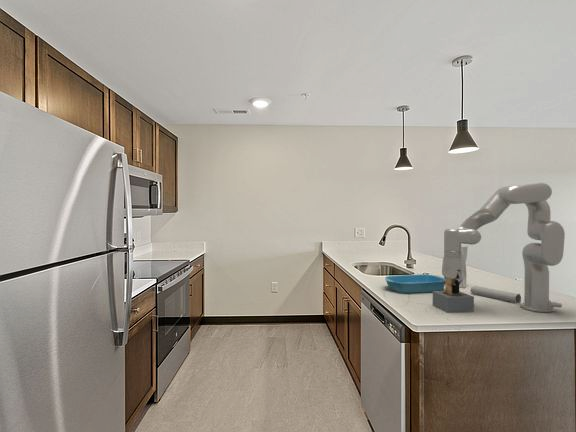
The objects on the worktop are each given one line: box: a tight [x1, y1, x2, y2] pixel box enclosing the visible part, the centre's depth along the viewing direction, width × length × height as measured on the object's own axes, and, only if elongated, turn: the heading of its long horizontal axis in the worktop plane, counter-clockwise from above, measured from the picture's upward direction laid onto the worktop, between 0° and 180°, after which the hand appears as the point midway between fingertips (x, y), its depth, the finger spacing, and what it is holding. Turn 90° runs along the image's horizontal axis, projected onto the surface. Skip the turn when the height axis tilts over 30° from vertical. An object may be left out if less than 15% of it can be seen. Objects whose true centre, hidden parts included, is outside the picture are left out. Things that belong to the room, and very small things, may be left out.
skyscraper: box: [459, 244, 468, 289], centre depth 210 cm, size 8×8×28 cm
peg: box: [444, 277, 459, 296], centre depth 163 cm, size 4×4×10 cm
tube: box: [470, 285, 522, 305], centre depth 182 cm, size 5×5×25 cm
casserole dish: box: [384, 273, 445, 294], centre depth 203 cm, size 37×22×7 cm, turn 101°
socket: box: [432, 290, 475, 314], centre depth 163 cm, size 13×13×7 cm
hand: (452, 291), depth 163 cm, fingers closed on peg, 4 cm apart
